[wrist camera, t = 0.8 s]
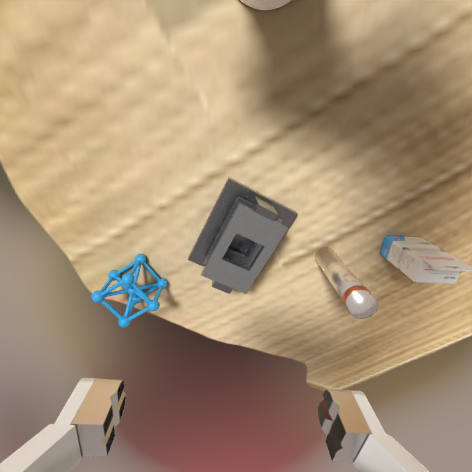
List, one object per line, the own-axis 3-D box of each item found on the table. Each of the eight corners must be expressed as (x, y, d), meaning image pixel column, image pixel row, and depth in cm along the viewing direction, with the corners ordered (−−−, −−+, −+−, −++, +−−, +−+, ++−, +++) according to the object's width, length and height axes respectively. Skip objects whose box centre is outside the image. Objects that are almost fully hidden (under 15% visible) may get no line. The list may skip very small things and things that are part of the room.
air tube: (322, 243, 56) (362, 292, 40) (339, 251, 57) (384, 302, 41) (310, 260, 58) (344, 313, 41) (327, 267, 59) (366, 322, 42)
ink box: (378, 254, 58) (424, 293, 44) (384, 234, 56) (435, 269, 42) (413, 255, 58) (469, 294, 45) (421, 236, 56) (482, 271, 43)
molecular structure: (170, 282, 59) (160, 310, 50) (137, 300, 61) (122, 331, 52) (142, 250, 55) (126, 275, 46) (108, 271, 57) (86, 298, 48)
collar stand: (228, 177, 49) (229, 186, 42) (295, 211, 53) (307, 226, 45) (188, 256, 56) (182, 277, 48) (250, 282, 60) (254, 305, 52)
